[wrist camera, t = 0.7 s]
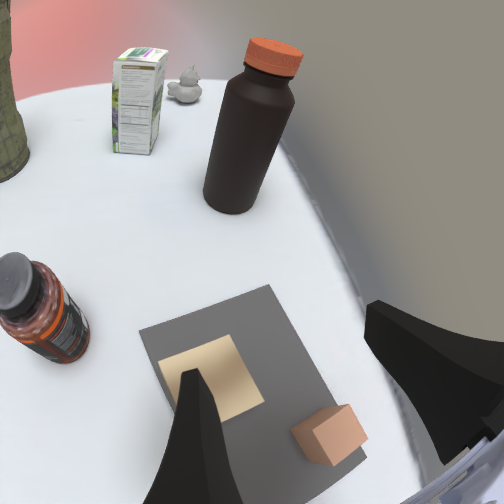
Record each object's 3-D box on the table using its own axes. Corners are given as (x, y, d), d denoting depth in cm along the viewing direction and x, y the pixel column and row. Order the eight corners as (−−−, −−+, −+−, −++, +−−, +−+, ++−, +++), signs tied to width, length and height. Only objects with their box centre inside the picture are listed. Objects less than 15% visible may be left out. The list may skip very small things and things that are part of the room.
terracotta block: (341, 438, 22) (368, 438, 18) (309, 461, 20) (333, 466, 17) (323, 407, 24) (348, 403, 20) (290, 429, 22) (312, 430, 18)
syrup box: (124, 131, 38) (127, 46, 26) (159, 134, 39) (169, 48, 28) (112, 153, 35) (110, 59, 23) (151, 156, 36) (158, 60, 25)
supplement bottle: (94, 308, 23) (56, 240, 14) (89, 369, 20) (36, 332, 11) (42, 302, 22) (-9, 236, 13) (35, 359, 19) (-33, 317, 10)
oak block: (251, 403, 22) (264, 401, 19) (189, 431, 20) (192, 434, 16) (221, 346, 25) (229, 334, 21) (160, 369, 22) (157, 361, 19)
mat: (364, 457, 21) (367, 457, 21) (248, 531, 15) (250, 533, 15) (267, 285, 30) (268, 284, 30) (139, 331, 24) (138, 330, 23)
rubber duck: (200, 107, 46) (208, 70, 40) (165, 106, 44) (170, 67, 38) (198, 95, 49) (206, 60, 43) (166, 94, 47) (170, 58, 41)
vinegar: (220, 170, 38) (260, 33, 22) (263, 194, 37) (322, 57, 21) (191, 197, 34) (224, 37, 18) (238, 224, 33) (299, 64, 17)
